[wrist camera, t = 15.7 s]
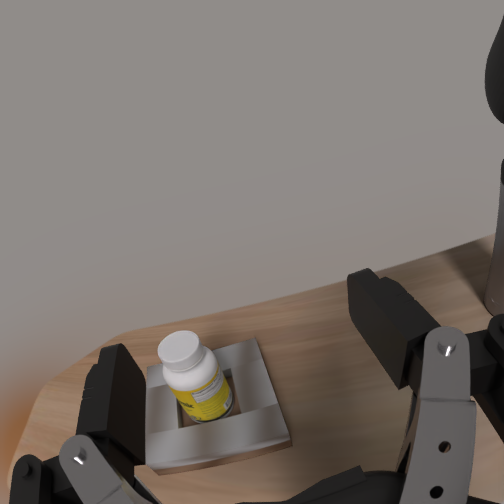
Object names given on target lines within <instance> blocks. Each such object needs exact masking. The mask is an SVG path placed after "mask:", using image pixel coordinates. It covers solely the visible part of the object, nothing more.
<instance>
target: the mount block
mask: <svg viewBox="0 0 504 504" xmlns="http://www.w3.org/2000/svg"><path fill="white" fill-rule="evenodd" d="M212 352H213V353H214V355H215V357H216V359H217V361H218V363H219V365H220V368H221V370H222V372H223V374H224V377H225V379H226V381H227V383H228V385H229V387H230V389H231V392H232V394H233V397H234V406H233V409H232V411H231V412H230V414H229V415H228V416H227V417H226V418H224V419H220V420H216V421H211V422H207V423H203V424H200V423H197V422H195V421H194V420H192V419H191V418H190V417H189V415H188V414H187V413H186V411H185V410H184V408H183V407H182V405H181V404H180V402H179V401H178V400H177V398H176V397H175V395H174V394H173V392H172V391H171V389H170V387H169V386H168V384H167V383H166V381H165V379H164V377H163V363H161V364H157V365H153V366H149V367H147V384H146V422H145V449H146V465H147V466H149V467H150V468H151V469H152V470H153V471H154V472H155V473H157V474H158V475H167V474H174V473H181V472H187V471H193V470H198V469H204V468H209V467H214V466H219V465H223V464H228V463H232V462H237V461H241V460H245V459H249V458H253V457H256V456H260V455H264V454H267V453H271V452H274V451H277V450H281V449H284V448H287V447H290V446H292V442H291V439H290V435H289V432H288V429H287V426H286V424H285V421H284V418H283V415H282V413H281V410H280V407H279V404H278V401H277V399H276V396H275V393H274V390H273V387H272V384H271V382H270V379H269V376H268V373H267V370H266V367H265V364H264V361H263V359H262V356H261V353H260V350H259V347H258V344H257V341H256V338H253V339H250V340H247V341H243V342H240V343H236V344H233V345H230V346H226V347H223V348H219V349H215V350H212Z"/></svg>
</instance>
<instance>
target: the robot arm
mask: <svg viewBox="0 0 504 504" xmlns="http://www.w3.org/2000/svg"><path fill="white" fill-rule="evenodd" d="M485 91H486V97H487V101H488V104H489V107H490V109H491V111H492V113H493V114H494V116H495V117H496V118H497V119H498V120H499V121H500V122H501V123H503V124H504V16H503V19H502V22H501V25H500V27H499V30H498V33H497V35H496V37H495V40H494V42H493V44H492V47H491V50H490V52H489V55H488V59H487V64H486V70H485ZM500 183H501V184H500V197H499V210H498V219H497V228H496V235H495V242H494V248H493V254H492V260H491V265H490V270H489V275H488V280H487V285H486V289H485V294H484V303H485V306H486V308H487V309H488V311H489V312H490V313H491V314H492V315H494V317H493V318H492V319H491V320H490V322H489V325H488V328H487V329H486V330H482V331H478V332H473V333H469V334H464V333H463V332H462V331H460V330H459V329H456V328H454V327H448V326H443V327H442V326H440V325H439V324H438V322H437V321H436V320H435V319H434V318H433V317H432V316H431V315H430V314H429V313H428V312H427V311H426V310H425V309H424V308H423V307H422V306H421V305H420V304H419V303H418V302H417V301H416V300H414V298H413V297H412V296H411V295H410V294H409V293H407V291H406V290H405V289H404V288H403V287H402V286H401V285H400V284H399V283H398V282H396V281H394V280H391V279H389V278H387V277H384V278H381V279H379V278H378V276H377V275H376V274H375V273H374V272H373V271H372V270H371V269H369V268H366V269H363V270H361V271H358V272H355V273H352V274H349V275H348V277H347V286H348V303H349V313H350V316H351V319H352V321H353V323H354V325H355V327H356V328H357V330H358V331H359V332H360V334H361V335H362V337H363V338H364V340H365V341H366V342H367V344H368V345H369V347H370V348H371V350H372V351H373V353H374V354H375V356H376V357H377V358H378V360H379V361H380V363H381V364H382V366H383V367H384V369H385V370H386V372H387V373H388V375H389V376H390V378H391V379H392V381H393V382H394V384H395V385H396V387H397V388H398V390H400V389H402V388H404V387H406V386H408V385H409V386H410V387H411V389H412V390H413V393H412V398H411V404H410V410H409V416H408V421H407V426H406V431H405V436H404V441H403V445H402V448H401V452H400V455H399V458H398V462H397V466H396V469H395V472H393V471H368V472H363V471H362V469H361V467H360V465H359V466H357V467H355V468H352V469H350V470H347V471H345V472H342V473H340V474H337V475H334V476H332V477H329V478H326V479H323V480H321V481H320V482H318V483H316V484H315V485H313V486H312V487H310V488H308V489H306V490H305V491H303V492H301V493H299V494H298V495H296V496H294V497H292V498H291V499H289V500H286V501H282V502H242V503H237V504H499V503H495V502H491V501H487V500H483V499H480V498H476V497H472V496H469V495H468V491H469V485H470V479H471V472H472V464H473V455H474V444H475V431H476V403H475V401H471V399H470V396H473V397H474V398H475V400H476V401H477V403H478V404H479V406H480V407H481V409H482V410H483V412H484V413H485V415H486V416H487V418H488V419H489V421H490V422H491V424H492V425H493V427H494V429H495V430H496V432H497V433H498V435H499V436H500V438H501V440H502V441H503V443H504V159H503V161H502V165H501V182H500ZM84 389H85V390H84V391H83V396H82V398H83V400H82V401H81V406H80V412H79V417H78V423H77V429H76V435H75V436H73V437H71V438H69V439H68V440H67V441H66V442H65V443H64V444H63V445H62V447H61V449H60V453H59V455H58V456H56V457H53V458H51V459H48V460H46V461H43V462H42V461H41V460H40V459H38V458H37V457H36V456H34V455H30V454H28V455H24V456H22V457H21V458H20V459H19V460H18V461H17V462H16V464H15V466H14V469H13V475H12V482H11V490H10V500H9V504H162V503H161V502H160V501H159V500H158V499H157V498H156V497H155V495H154V494H153V493H152V492H151V491H150V490H149V489H148V488H147V487H146V486H145V485H144V484H143V482H142V481H141V480H140V479H139V478H138V477H137V476H136V475H135V474H134V466H137V465H146V453H145V418H146V382H145V378H144V375H143V373H142V371H141V370H140V368H139V367H138V365H137V364H136V362H135V361H134V359H133V358H132V356H131V355H130V353H129V352H128V350H127V349H126V347H125V346H124V345H123V344H121V343H120V344H116V345H112V346H108V347H104V348H102V349H101V351H100V355H99V360H98V364H94V365H93V366H92V368H91V370H90V371H89V373H88V375H87V377H86V381H85V386H84Z"/></svg>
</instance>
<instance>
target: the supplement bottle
mask: <svg viewBox="0 0 504 504" xmlns="http://www.w3.org/2000/svg"><path fill="white" fill-rule="evenodd" d="M158 355H159V357H160V359H161V361H162V363H163V377H164V379H165V381H166V383H167V384H168V386H169V387H170V389H171V391H172V392H173V394H174V395H175V397H176V398H177V400H178V401H179V402H180V404H181V405H182V407H183V408H184V410H185V411H186V413H187V414H188V415H189V417H190V418H191V419H192V420H194V421H195V422H197V423H200V424H203V423H207V422H211V421H216V420H220V419H224V418H226V417H227V416H228V415H229V414H230V412H231V411H232V409H233V406H234V397H233V394H232V392H231V389H230V387H229V385H228V383H227V381H226V379H225V377H224V374H223V372H222V370H221V368H220V365H219V363H218V361H217V359H216V357H215V355H214V353H213V352H212V351H211V350H210V349H209V348H207V347H205V346H202V344H201V342H200V339H199V337H198V336H197V335H196V334H195V333H194V332H191V331H186V330H185V331H177V332H174V333H172V334H170V335H168V336H167V337H166V338H164V339H163V340H162V341H161V343H160V345H159V347H158Z"/></svg>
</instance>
